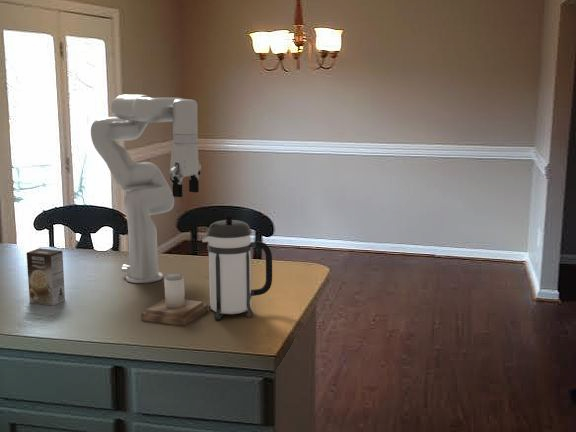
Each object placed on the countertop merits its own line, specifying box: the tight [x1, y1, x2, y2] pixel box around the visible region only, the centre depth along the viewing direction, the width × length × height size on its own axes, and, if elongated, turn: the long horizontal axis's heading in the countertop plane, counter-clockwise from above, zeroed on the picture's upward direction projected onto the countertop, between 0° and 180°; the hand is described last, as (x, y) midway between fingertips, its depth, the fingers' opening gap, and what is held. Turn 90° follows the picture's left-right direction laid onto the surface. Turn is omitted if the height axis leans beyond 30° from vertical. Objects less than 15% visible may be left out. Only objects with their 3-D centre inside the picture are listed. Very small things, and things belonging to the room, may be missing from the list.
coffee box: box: [26, 247, 66, 306], centre depth 214 cm, size 9×6×16 cm
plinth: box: [140, 298, 209, 327], centre depth 202 cm, size 14×14×3 cm
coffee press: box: [202, 212, 273, 321], centre depth 202 cm, size 17×16×30 cm
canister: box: [163, 273, 186, 308], centre depth 201 cm, size 6×6×9 cm
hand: (185, 194), depth 218 cm, fingers open, 9 cm apart
